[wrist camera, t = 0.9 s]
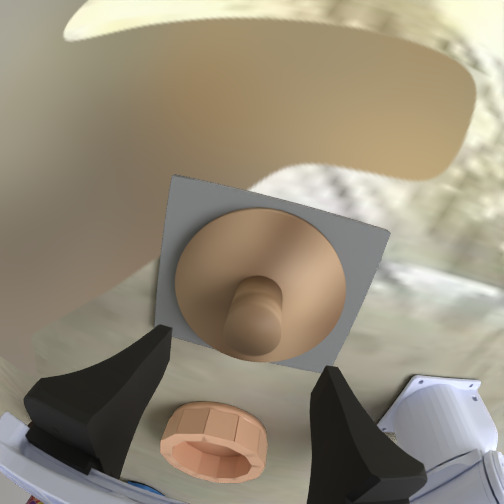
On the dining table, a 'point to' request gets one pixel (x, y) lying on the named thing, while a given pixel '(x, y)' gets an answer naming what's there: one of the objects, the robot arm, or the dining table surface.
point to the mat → (229, 199)
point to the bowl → (215, 442)
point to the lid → (260, 285)
